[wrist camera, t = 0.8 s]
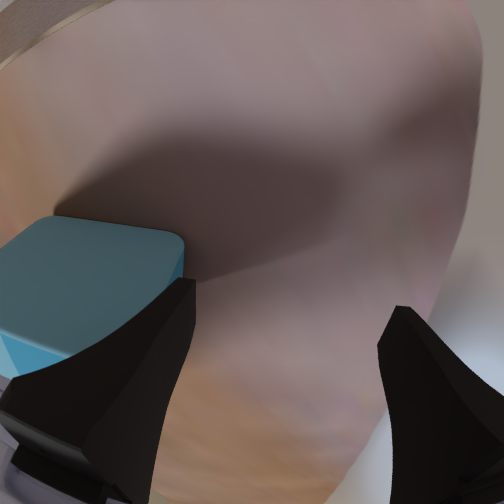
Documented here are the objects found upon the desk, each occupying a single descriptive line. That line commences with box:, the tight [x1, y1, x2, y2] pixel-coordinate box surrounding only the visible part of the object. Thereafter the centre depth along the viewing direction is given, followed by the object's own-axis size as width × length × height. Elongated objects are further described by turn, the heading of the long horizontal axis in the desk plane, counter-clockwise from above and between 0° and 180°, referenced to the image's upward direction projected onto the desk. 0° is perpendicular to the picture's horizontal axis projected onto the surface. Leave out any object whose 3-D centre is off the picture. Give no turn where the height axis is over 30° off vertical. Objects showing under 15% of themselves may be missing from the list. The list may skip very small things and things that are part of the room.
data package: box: [0, 216, 184, 380], centre depth 17 cm, size 12×4×12 cm, turn 81°
